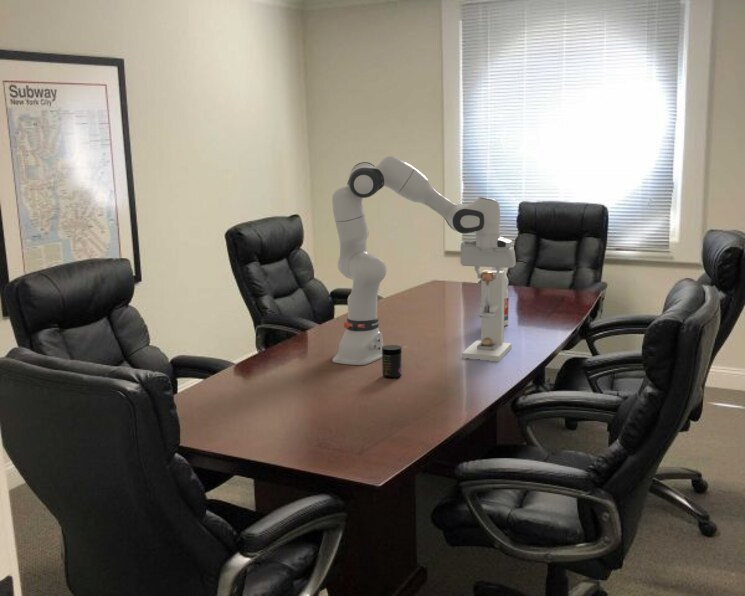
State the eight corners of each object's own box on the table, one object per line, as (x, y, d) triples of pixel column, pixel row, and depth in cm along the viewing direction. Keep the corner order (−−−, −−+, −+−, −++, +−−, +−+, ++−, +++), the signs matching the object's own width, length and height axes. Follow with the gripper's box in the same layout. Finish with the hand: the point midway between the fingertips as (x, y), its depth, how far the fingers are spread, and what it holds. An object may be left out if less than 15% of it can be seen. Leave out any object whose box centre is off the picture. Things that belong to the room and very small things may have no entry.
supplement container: (399, 380, 271) (398, 350, 269) (380, 378, 273) (379, 349, 271) (404, 374, 277) (403, 345, 275) (385, 373, 279) (384, 344, 277)
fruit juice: (499, 321, 355) (500, 258, 350) (512, 325, 347) (513, 261, 341) (482, 323, 351) (482, 260, 346) (494, 327, 343) (495, 263, 337)
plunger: (493, 318, 296) (493, 273, 293) (477, 317, 298) (477, 273, 295) (497, 315, 301) (497, 271, 298) (481, 314, 304) (481, 270, 300)
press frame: (499, 361, 291) (499, 280, 285) (461, 358, 296) (461, 278, 290) (511, 348, 309) (512, 271, 303) (476, 345, 314) (476, 269, 308)
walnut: (491, 349, 300) (491, 339, 299) (480, 348, 301) (480, 338, 300) (493, 347, 303) (493, 336, 302) (483, 346, 305) (483, 336, 304)
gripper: (458, 241, 295) (458, 278, 298) (513, 243, 288) (512, 281, 290) (463, 239, 301) (463, 276, 304) (516, 241, 293) (516, 278, 296)
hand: (487, 278), depth 297 cm, fingers closed on plunger, 4 cm apart
